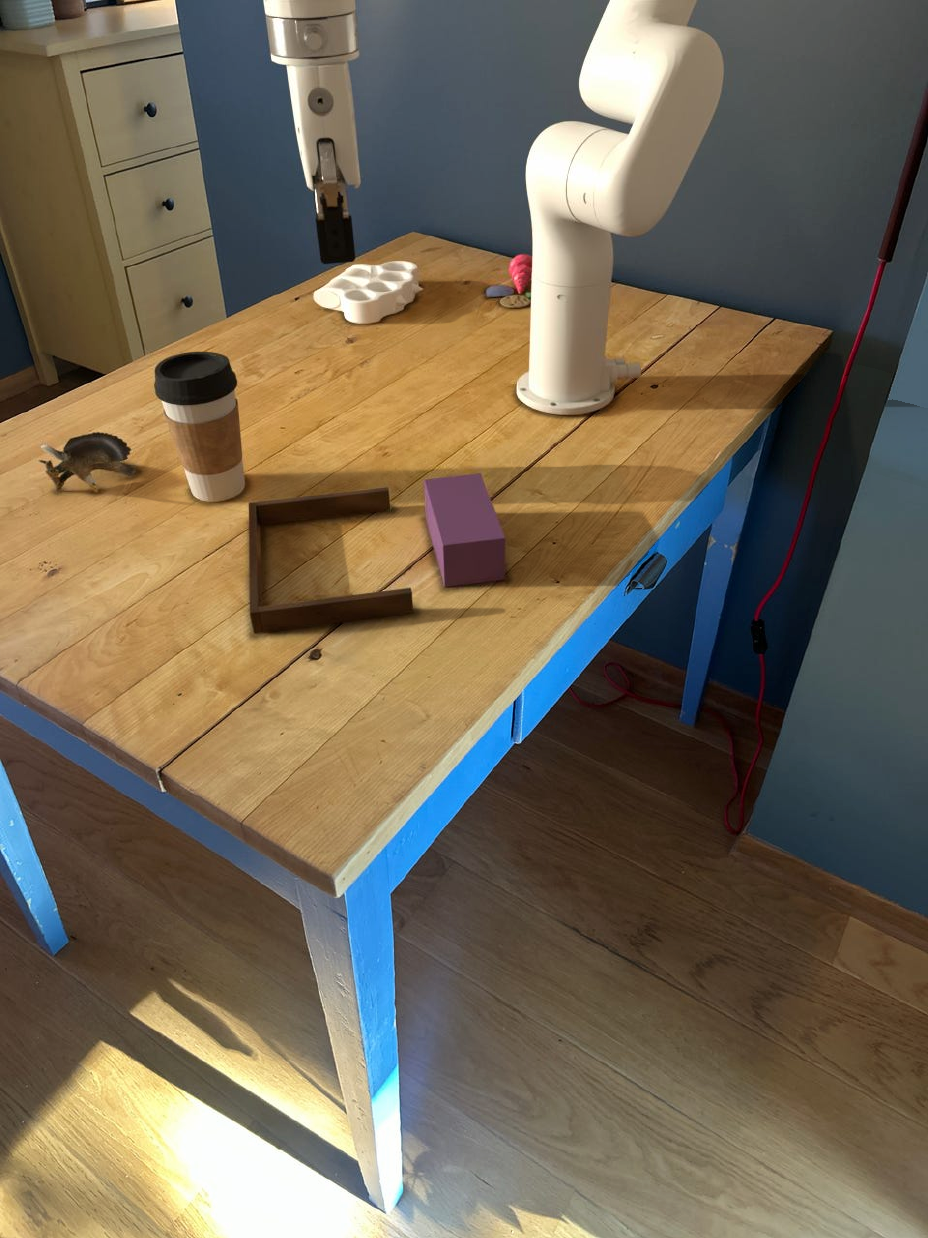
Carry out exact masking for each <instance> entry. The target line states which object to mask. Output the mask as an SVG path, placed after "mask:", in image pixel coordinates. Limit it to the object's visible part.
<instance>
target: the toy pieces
mask: <svg viewBox="0 0 928 1238" xmlns="http://www.w3.org/2000/svg"><path fill="white" fill-rule="evenodd" d="M532 257H533V255H531V254H527V253H521V254H518V255H516V256H515V257H513V258H512V259H511V261H510V262H509V268H508V271H509V274H510V277H511V279H512V282H513V284H514V285H515V288H516V291H517V292H518V294H515V290H514V289H513V288H512V287H511V286H510V285H504V284H503V285H502V284H501V285H500V284H497V285H491V286H490V287H488V288H487V289H486V291H485V293H486V297H487V298H499V297H502V298H500V301H499V303H500V304H501V306H503V307H505V308H508V309H516V308H517V309H522V308H525V307H527V306H529V305H531V292H528V291H527V292H525V295H521V294H522V293H523V292H524V290H525V289H526V287H527V286H528V283H529V282H530V280H532Z"/></svg>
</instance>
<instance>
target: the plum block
mask: <svg viewBox="0 0 928 1238" xmlns="http://www.w3.org/2000/svg"><path fill="white" fill-rule="evenodd" d="M423 487H424V503H425V504H424V505H425V520H426V524H427V528H428V531H429V536H430V539H431V542H432V546H433V550H434V554H435V558H436V562H437V565H438V569H439V573H440V576H441V580H442V583H443V587H444V588H449V587H456V586H465V585H466V586H467V585H472V584H480V583H488V582H497V581H504V580H505V578H506V536H505V534H504V531H503V528H502V525H501V523H500V521H499V518H498V515H497V512H496V509H495V506H494V504H493V502H492V499H491V496H490V494H489V491H488V488H487V486H486V483H485V480H484V478H483V475H482V473H481V472H478V473H469V474H460V475H450V476H441V477H432V478H424V479H423Z"/></svg>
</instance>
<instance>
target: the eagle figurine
mask: <svg viewBox="0 0 928 1238" xmlns="http://www.w3.org/2000/svg"><path fill="white" fill-rule="evenodd" d="M40 448H41V449H42V450H43V451H44V452H45V453H46V454H48V455H50V456H51V457H54V458H55V459H56V460H59V461H61V462H59V464H57V465H55V466H54V465H53V461H52V460H43V459H39V460H38V462H40V463H42V464H43V465H45V468H46V470H45V474H46V476H48V477H49V478H50V480H51V481H52V483H53V484H54V486H55V491H56V492H59V491H61V490H62V488H63V487H64V485H65V483H66V481H67V480H68V479H70V478H71V477H73V476H76V477H77V478H78V479H80V480H81V481H83V482H84V483H86V484H87V485H88V486H89V487H90V488H91V489H92V490H93V492H94V493H98V491H99V489H98V485H97V481H96V479H95V478H94V477H93V475H92V473H91V472H93V471H95V470H103V471H108V472H114V473H118V474H122V475H125V476H129V477H130V476H131V475H134V474H135V473H136V472H137V470H136V468H135V467H133V466H132V465H131V464H126V463H125V462H124V461H126V460H128V456H130V455H131V451H132V448H131V447H129V446H128V443H127V442H125V441H124V440H123V439H122V438H119V437H118V435H113V434H112V433H108V432H102V431H101V432H100V431H96V432H95V431H94V432H91V433H86V434H81V435H78V436H74V437H71V438H69V439H68V440H67V441H66V443H65V445H64V446H63V447H62V450H57V449H56V448H54V447H52V446H50V445H48V444H44V445H41V446H40Z"/></svg>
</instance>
